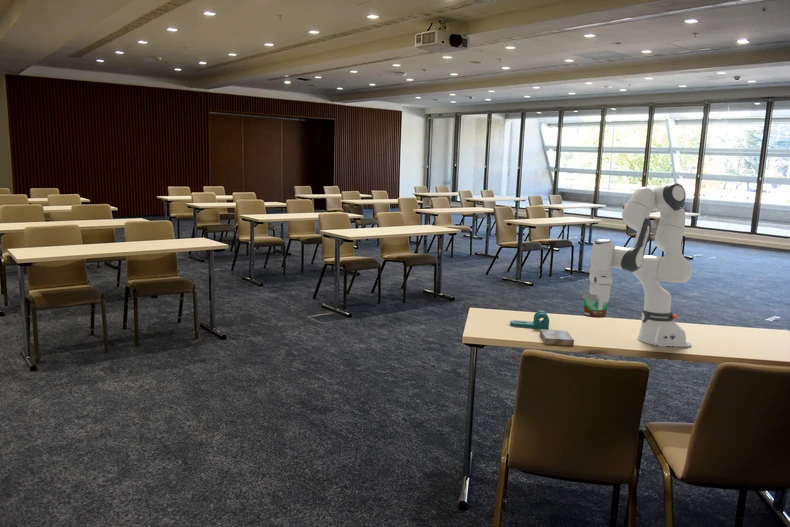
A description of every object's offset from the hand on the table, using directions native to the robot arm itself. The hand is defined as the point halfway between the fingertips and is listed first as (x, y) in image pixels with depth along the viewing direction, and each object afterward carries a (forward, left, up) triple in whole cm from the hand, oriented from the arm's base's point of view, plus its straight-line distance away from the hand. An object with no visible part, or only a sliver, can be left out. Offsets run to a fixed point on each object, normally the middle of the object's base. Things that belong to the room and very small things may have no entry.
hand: (597, 307), depth 265 cm
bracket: (+25, -26, -17) cm, 40 cm away
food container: (0, +1, -4) cm, 4 cm away
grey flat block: (+16, -2, -16) cm, 23 cm away
